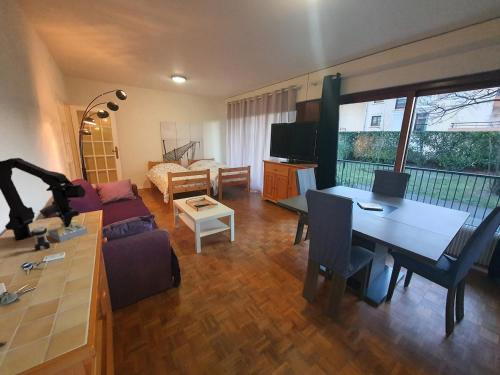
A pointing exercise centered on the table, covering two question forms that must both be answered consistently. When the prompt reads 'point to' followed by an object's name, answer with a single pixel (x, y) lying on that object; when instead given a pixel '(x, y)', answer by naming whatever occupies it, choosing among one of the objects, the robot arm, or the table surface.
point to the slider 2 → (74, 223)
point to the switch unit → (68, 233)
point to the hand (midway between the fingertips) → (67, 227)
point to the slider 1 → (60, 230)
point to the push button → (40, 238)
